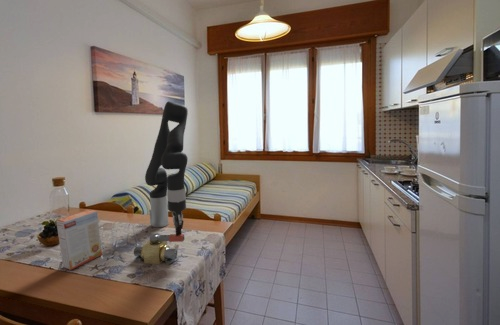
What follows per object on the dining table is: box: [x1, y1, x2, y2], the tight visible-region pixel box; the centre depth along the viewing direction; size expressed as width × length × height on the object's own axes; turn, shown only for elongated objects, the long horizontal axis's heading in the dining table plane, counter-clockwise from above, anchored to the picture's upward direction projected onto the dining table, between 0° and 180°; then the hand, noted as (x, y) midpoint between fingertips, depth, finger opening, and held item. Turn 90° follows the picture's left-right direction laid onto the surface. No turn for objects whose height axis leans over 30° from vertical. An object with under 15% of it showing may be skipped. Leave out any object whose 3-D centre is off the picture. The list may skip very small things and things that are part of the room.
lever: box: [149, 233, 185, 243], centre depth 113 cm, size 14×4×2 cm, turn 90°
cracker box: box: [56, 209, 103, 271], centre depth 113 cm, size 14×6×21 cm, turn 153°
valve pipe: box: [133, 239, 178, 265], centre depth 114 cm, size 18×7×8 cm, turn 80°
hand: (178, 236), depth 116 cm, fingers closed
